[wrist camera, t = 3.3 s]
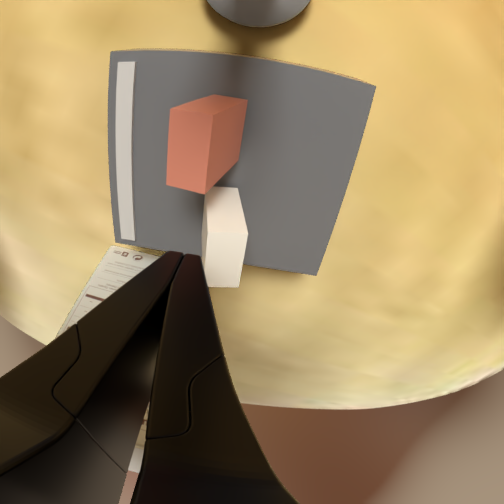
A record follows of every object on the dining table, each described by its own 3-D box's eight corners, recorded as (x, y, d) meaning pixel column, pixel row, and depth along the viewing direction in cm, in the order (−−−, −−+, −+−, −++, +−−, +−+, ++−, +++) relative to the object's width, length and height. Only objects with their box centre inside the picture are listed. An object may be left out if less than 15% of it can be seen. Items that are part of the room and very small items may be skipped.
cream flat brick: (201, 234, 15) (203, 286, 12) (205, 185, 13) (207, 231, 11) (230, 236, 15) (238, 287, 13) (237, 187, 14) (248, 233, 11)
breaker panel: (134, 214, 19) (114, 244, 16) (137, 48, 13) (108, 51, 10) (311, 243, 19) (316, 278, 16) (357, 79, 13) (377, 86, 10)
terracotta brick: (207, 153, 13) (166, 184, 10) (214, 94, 11) (169, 108, 8) (238, 160, 13) (204, 194, 10) (247, 99, 11) (212, 115, 8)
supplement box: (199, 333, 25) (169, 482, 15) (114, 310, 24) (59, 446, 14) (214, 266, 21) (172, 459, 11) (109, 240, 20) (18, 402, 10)
